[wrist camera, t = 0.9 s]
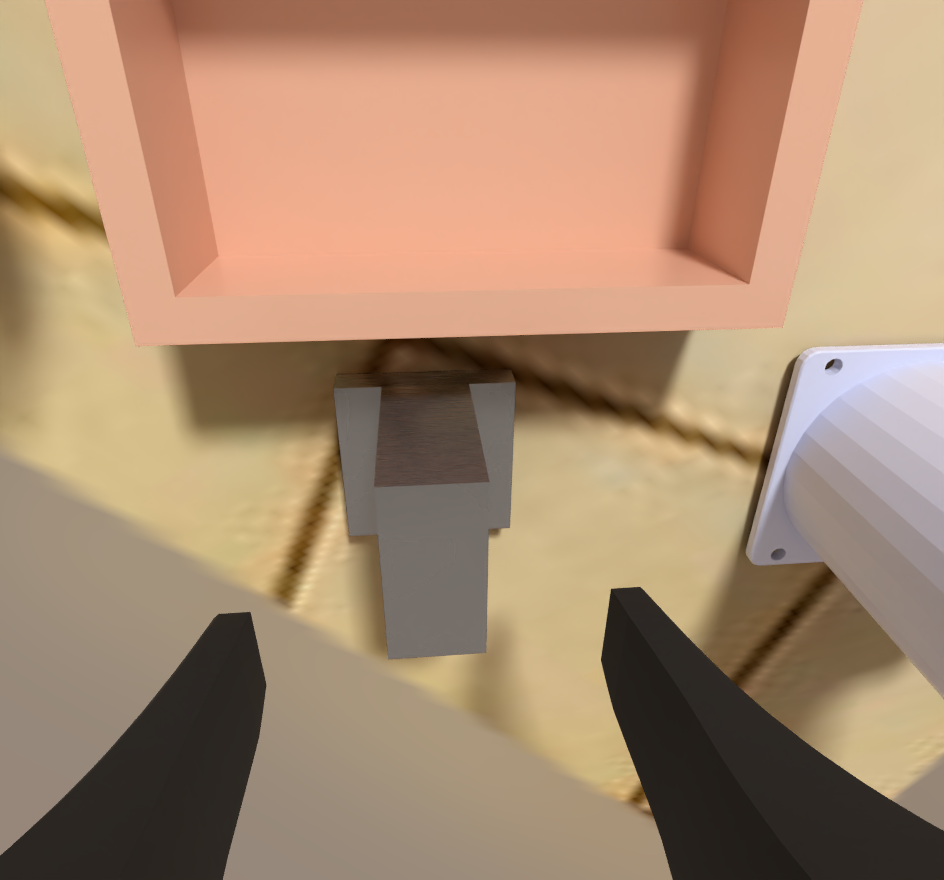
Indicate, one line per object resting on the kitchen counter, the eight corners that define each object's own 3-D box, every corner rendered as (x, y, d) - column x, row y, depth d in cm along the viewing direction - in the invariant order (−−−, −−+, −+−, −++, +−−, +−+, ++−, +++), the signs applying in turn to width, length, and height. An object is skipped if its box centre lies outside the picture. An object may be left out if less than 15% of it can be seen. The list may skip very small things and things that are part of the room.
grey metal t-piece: (510, 368, 19) (551, 479, 14) (505, 509, 21) (538, 649, 16) (336, 374, 18) (310, 490, 13) (352, 517, 21) (334, 663, 16)
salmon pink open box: (799, -210, 13) (941, -314, 10) (709, 279, 18) (782, 327, 15) (79, -240, 12) (-53, -370, 9) (191, 291, 17) (135, 345, 13)
